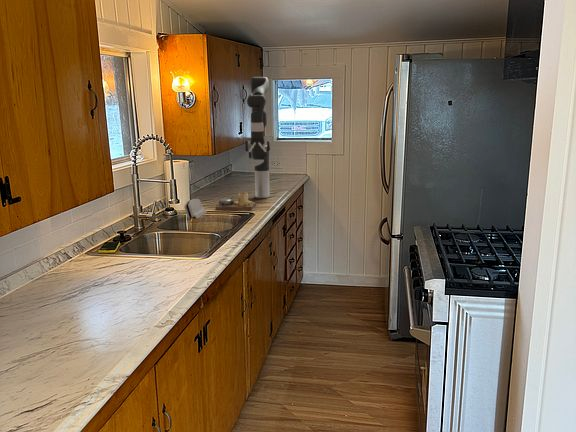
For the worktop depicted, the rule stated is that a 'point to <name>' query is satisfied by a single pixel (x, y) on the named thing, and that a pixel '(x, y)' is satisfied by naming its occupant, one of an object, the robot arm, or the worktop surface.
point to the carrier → (235, 207)
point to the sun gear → (226, 202)
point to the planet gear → (243, 200)
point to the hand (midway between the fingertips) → (258, 158)
